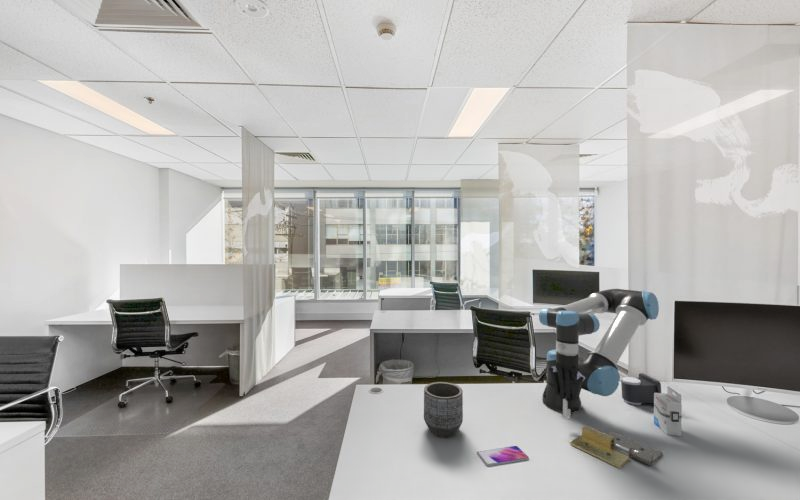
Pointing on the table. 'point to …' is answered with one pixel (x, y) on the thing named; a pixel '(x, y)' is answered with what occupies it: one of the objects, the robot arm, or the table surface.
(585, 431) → the brass leaf
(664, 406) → the ink box
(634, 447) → the gunmetal leaf
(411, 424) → the table surface
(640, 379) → the light fixture
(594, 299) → the robot arm
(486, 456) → the smartphone
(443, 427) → the planter
